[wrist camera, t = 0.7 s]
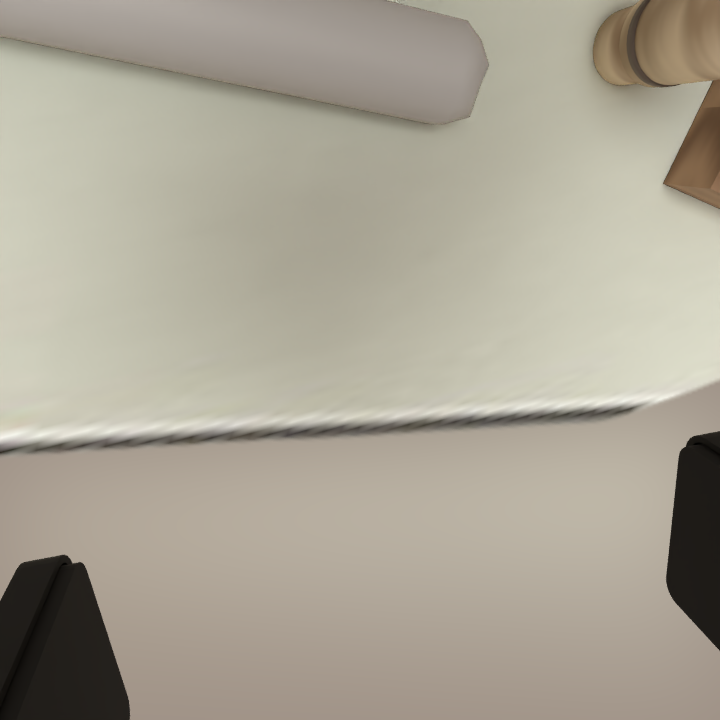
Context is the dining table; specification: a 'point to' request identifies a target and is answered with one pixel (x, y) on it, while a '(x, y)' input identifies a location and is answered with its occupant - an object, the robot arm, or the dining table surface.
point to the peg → (660, 43)
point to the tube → (279, 47)
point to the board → (700, 153)
